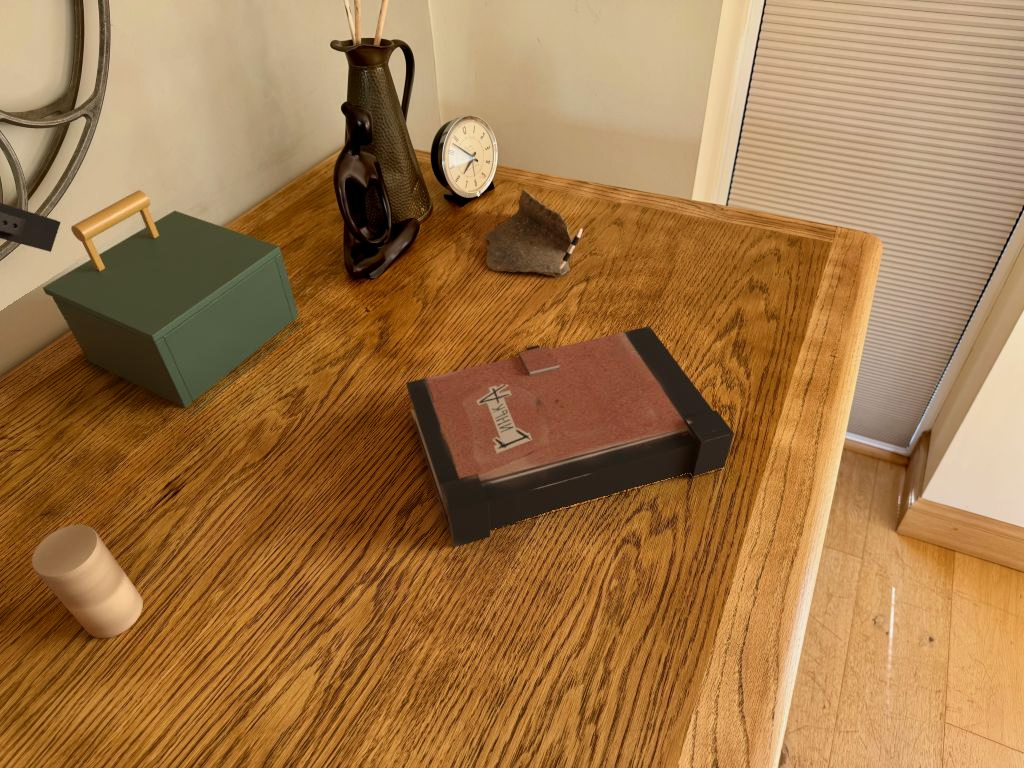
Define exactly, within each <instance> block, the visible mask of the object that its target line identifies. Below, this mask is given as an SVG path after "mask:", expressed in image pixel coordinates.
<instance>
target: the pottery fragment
mask: <svg viewBox="0 0 1024 768" xmlns="http://www.w3.org/2000/svg"><path fill="white" fill-rule="evenodd" d="M583 229H584V228H580V229H578V231H577V233H576V234H575V235H574V237H573V239H572V237H571V233H570V230H569V225H567V222H566V221H565V220H564V218H563V215H562V214H561V213H560V212H558V211H555V210H553V209H551V208H549V207H548V206H546V205H545V204H544V203H542V202H541V201H540V200H538V199H536V198H535V197H534V196H533V195H532V193H530V192H529V191H527V189H526V188H522V190H521V193H520V195H519V200H518V210H517V211H516V212H515V213H514V214H513V215H512V216H510V217H509V218H507V219H506V221H505V222H503V223H501V224H499V225H497V226H495V227H494V228H493V230H492V231H489V232H487V233H486V235H485V240H486V241H487V242H489V244H488V245H486V246H485V250H486V251H487V254H486V256H487V257H486V266H487V267H488V269H490V270H491V271H494V272H498V273H499V272H512V273H516V272H521V273H537V274H543V275H548V276H551V277H555V278H559V277H563V276H564V275H566V273H568V272H570V270H571V267H570V266H569V259H570V258H571V256H572V253H573V251H574V250H575V248H576V246H577V245H578V242H579V240H580V239H581V237H582V233H583V231H584V230H583Z"/></svg>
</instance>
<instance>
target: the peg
mask: <svg viewBox="0 0 1024 768" xmlns="http://www.w3.org/2000/svg"><path fill="white" fill-rule="evenodd" d="M31 567H32V570H33V571H34V572H35V573H36V574H37V576H38V577H39V578H40V579H41V580H42V582H44V584H45V585H46V586H47V587H48V588H49V590H50V591H51V592H52V593H53V594H54V595H55V597H56V598H58V600H59V601H60V602H61V604H62V605H64V607H65V608H66V609H67V610H68V611H69V612H70V614H71V615H72V616H73V617H74V619H76V621H77V622H78V623H79V624H80V625H81V627H82V628H83V629H84V630H85V631H86V632H87V633H88V635H90V636H91V637H93V638H97V639H109V638H115V637H117V636H119V635H121V634H123V633H124V632H126V631H128V630H129V629H130V628H131V627H132V626H133V625H134V624H135V623H136V622H137V621H138V619H139V618H140V616H141V613H142V612H143V606H144V601H143V596H142V595H141V594H140V592H139V591H138V590H137V588H136V586H135V585H134V583H133V582H132V581H131V580H130V578H129V577H128V575H127V574H126V572H125V571H124V570H123V569H122V567H121V565H120V564H119V562H118V561H117V560H116V558H115V557H114V555H113V554H112V553H111V551H110V550H109V548H108V547H107V545H106V544H105V542H103V540H102V538H101V537H100V535H99V534H98V533H97V531H96V530H95V529H94V528H93V527H91V526H88V525H85V524H72V525H68V526H63V527H61V528H59V529H57V530H55V531H53V532H52V533H50V534H48V535H47V536H45V538H44V539H42V540H41V541H40V542H39V544H38V545H37V546H36V548H35V550H34V551H33V553H32V556H31Z"/></svg>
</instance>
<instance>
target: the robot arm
mask: <svg viewBox="0 0 1024 768" xmlns="http://www.w3.org/2000/svg"><path fill="white" fill-rule="evenodd" d="M60 226H61V221H59V220H57V219H54V218H50V217H47V216H44V215H41V214H38V213H34V212H32V211H28V210H25V209H23V208H18V207H16V206H12V205H9V204H6V203H3V202H0V239H1V240H4V241H5V240H6V241H9V242H11V243H16V244H20V245H23V246H28V247H31V248H34V249H39V250H41V251H46V252H50V253H51V252H52V250H53V247H54V243H55V241H56V238H57V234H58V233H59V229H60Z"/></svg>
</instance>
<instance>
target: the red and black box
mask: <svg viewBox="0 0 1024 768" xmlns="http://www.w3.org/2000/svg"><path fill="white" fill-rule="evenodd" d="M405 384H406V389H407V392H408V395H409V398H410V402H411V404H412V407H413V408H412V409H410V415H411V419H412V421H413V424H414V427H415V430H416V433H417V437H418V439H419V443H420V447H421V449H422V453H423V455H424V458H425V462H426V464H427V467H428V471H429V474H430V477H431V480H432V484H433V486H434V489H435V492H436V495H437V498H438V502H439V505H440V507H441V511H442V514H443V517H444V520H445V523H446V526H447V529H448V532H449V536H450V539H451V542H452V545H453V548H456V547H460V546H463V545H467V544H470V543H473V542H472V541H474V542H477V541H480V539H481V540H483V538H484V539H486V538H485V537H488V538H490V537H491V531H490V530H493V529H495V528H500V527H503V526H507V525H509V524H512V523H516V522H518V521H522V520H525V519H527V518H532V517H534V516H538V515H540V514H541V515H542V514H544V513H546V512H550V511H552V510H556V509H560V508H562V507H568V506H570V505H574V504H577V503H581V502H585V501H588V500H592V499H596V498H599V497H603V496H608V495H611V494H614V493H618V492H621V491H624V490H628V489H631V488H634V487H639V486H642V485H647V484H650V483H654V482H657V481H661V480H665V479H668V478H672V477H677V476H680V475H682V474H683V475H684V474H685V473H686V474H687V473H691V474H692V476H693V477H694V476H697V475H700V474H703V473H706V472H708V471H709V472H710V471H712V470H715V469H719V468H723V467H724V468H726V463H727V460H728V456H729V452H730V449H731V446H732V442H733V439H734V435H735V432H734V431H733V430H732V429H731V427H730V426H729V425H728V423H727V422H726V421H725V419H724V418H723V417H722V415H721V414H720V412H719V411H718V410H717V409H715V410H713V408H712V407H711V406H710V404H709V403H708V402H707V400H706V398H705V397H704V396H703V395H702V393H701V392H700V391H699V390H698V389H697V387H696V385H695V384H694V383H693V382H692V380H691V379H690V378H689V376H688V375H687V373H685V371H684V369H682V367H681V366H680V365H679V363H678V362H677V360H676V359H675V358H674V356H673V355H672V354H671V352H670V351H669V350H668V349H667V347H666V346H665V345H664V343H663V341H661V339H660V338H659V336H658V335H657V334H656V332H655V331H654V330H653V329H652V327H651V326H650V325H648V326H643V327H639V328H635V329H630V330H626V331H623V332H617V333H613V334H609V335H605V336H601V337H597V338H591V339H587V340H583V341H579V342H575V343H571V344H567V345H562V346H559V347H558V346H557V347H554V348H551V347H550V346H549V345H547V346H542V347H541V346H540V345H539V344H536V345H533V346H532V345H531V346H528V347H526V348H525V351H521V352H519V356H515V357H510V358H506V359H502V360H498V361H493V362H489V363H485V364H481V365H476V366H472V367H468V368H463V369H459V370H455V371H451V372H450V371H449V372H447V373H441V374H438V375H434V376H429V377H425V378H421V379H416V380H411V381H407V382H406V383H405ZM507 527H508V526H507ZM503 528H504V527H503ZM500 529H501V528H500ZM493 531H494V530H493ZM476 540H477V541H476ZM459 545H460V546H459Z"/></svg>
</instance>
